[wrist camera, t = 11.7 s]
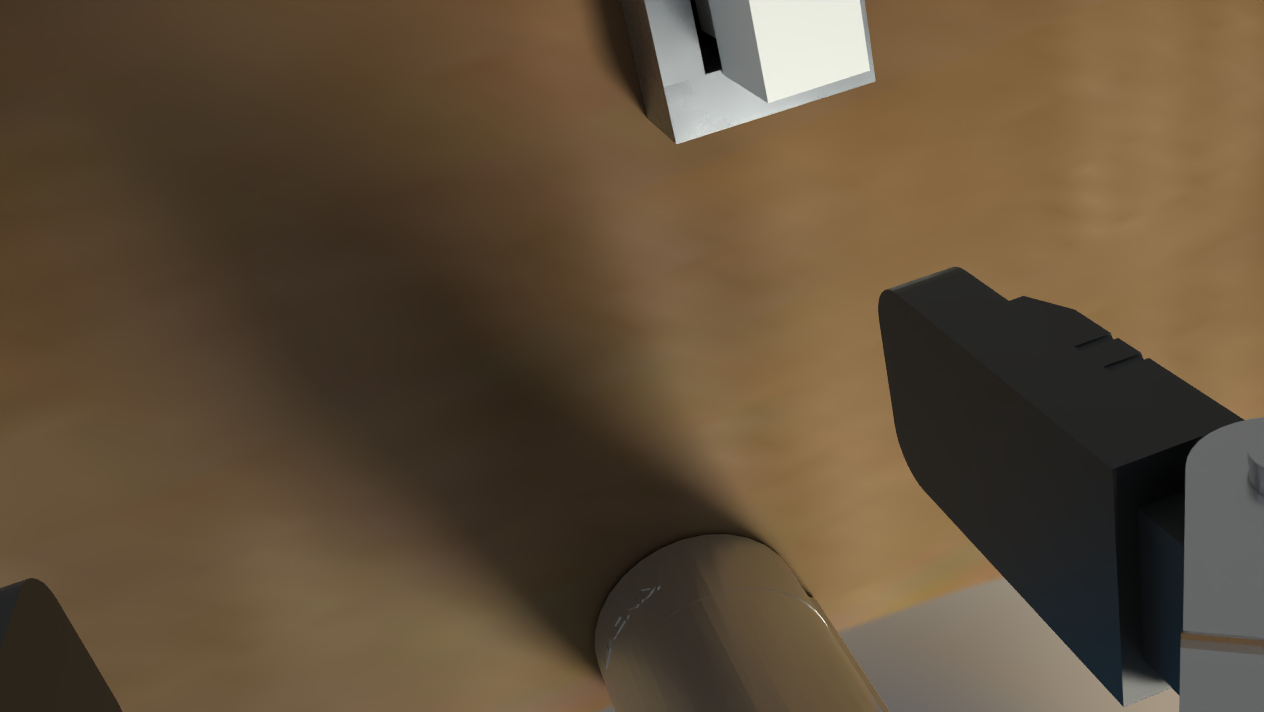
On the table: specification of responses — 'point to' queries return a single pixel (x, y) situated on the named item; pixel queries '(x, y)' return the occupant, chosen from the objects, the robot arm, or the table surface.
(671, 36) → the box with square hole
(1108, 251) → the table surface
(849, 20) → the light grey box
